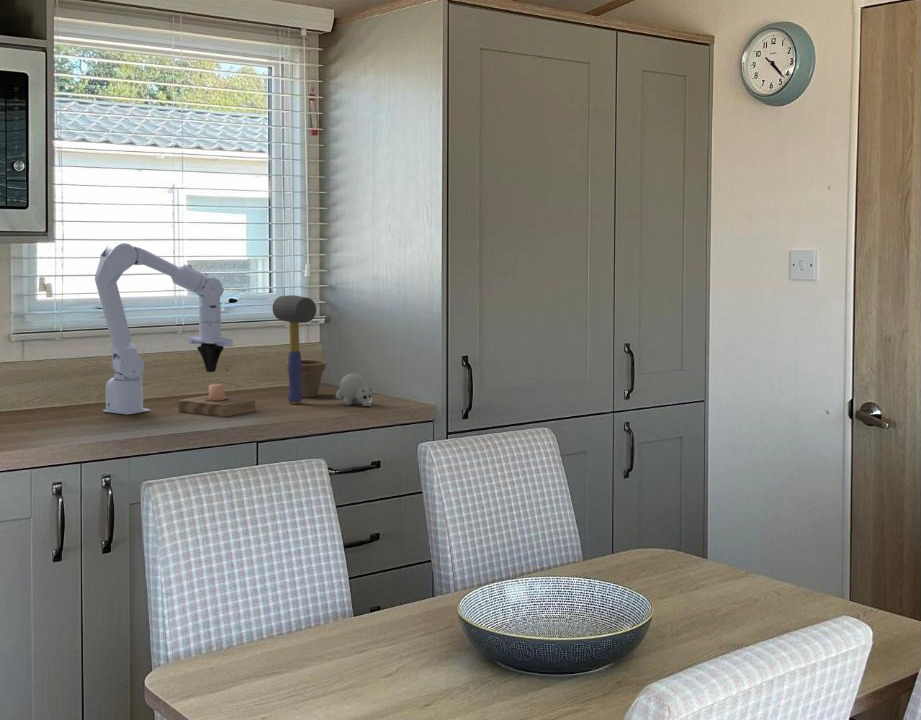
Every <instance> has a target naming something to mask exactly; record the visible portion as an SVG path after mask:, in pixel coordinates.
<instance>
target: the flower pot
mask: <svg viewBox="0 0 921 720" xmlns="http://www.w3.org/2000/svg"><path fill="white" fill-rule="evenodd" d="M301 362H302V372H301V392H302V398H314V397H317V396H318V394H319V390H320V385H321V381H322V377H323V372H324V371H326V366H327V365H326V364H327V362H325V361H323V360H317V359H301ZM285 369H286V372H288V361H286V363H285Z"/></svg>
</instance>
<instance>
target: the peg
mask: <svg viewBox="0 0 921 720" xmlns="http://www.w3.org/2000/svg"><path fill="white" fill-rule="evenodd" d="M225 395H226V394H225V384H221V383H213V384H209V385H208V396H209V401H213V402H220V401H225V397H226V396H225Z"/></svg>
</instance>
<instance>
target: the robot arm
mask: <svg viewBox="0 0 921 720" xmlns="http://www.w3.org/2000/svg"><path fill="white" fill-rule="evenodd" d="M99 255H100V256H99V257H100V258H99V263H98V265H97V268H96V272H95V274H94V275H95V276H94V282H95V285H96V289H97V292H98V297H99V299H100V303H101V308H102V311H103V314H104V318H105V322H106V326H107V330H108V333H109V337H110V341H111V354H112V359H111V368H112V370H113V372H115V373H114V375H113V377H111V378H110V379H109V380H108V381H107V382H106V385H105V409H103V411H102V412H104V413H112V414H121V415H134V414H140V413H145V412H146V413H147V412H150V411H151V409H150V408H144V393H143V392H144V390H143V388H144V387H143V383H144V382H143V375H142V374H143V373H144V371H145V362H144V360H143V358H142V357H141V356H140V355H139V353H138V351H137V347H136V345H135V344H134V342H133V340H132V336H131V333H130V328H129V324H128V321H127V316H126V314H125V309H124V305H123V301H122V298H121V295H120V291H119V288H118V283H117V282H118V281H119V279H120V278H121V276H123V274H124V272H126V271H127V270H128V269H130V268H131V267H133V266H146V267H148V268H150V269H153V270H155V271H158V272H160V273H163V274H164V275H166V276H170V278H171V281H172V283H173V284H174V285H177V286H179V287H181V288H183V289H185V290H188V291H189V292H192V293H193V294H194V293H195V294H196V295H197V296H198V314H199V315H198V320H199V321H198V323H199V325H198V327H199V330H198V331H199V332H198V333H199V334H198V335H199V336H194V335H193V336H188V344H189V345H199V346H197V350H198V352H199V354H200V355H201V358H202V361H203V364H204V367H205V372H206V373H215V372H216V370H217V366H218V363H219V362H218V361H219V358H220V356H221V353H222V351H224V347H227V348H228V347H233V344H234V343H233V338H228V337H223V336H222V317H221V316H222V312H221V311H222V310H221V309H222V308H221V297H222V296H223V293H224V290H225V289H224V287H223V284H222V283H221V281H220V280H219V278H218V279H217V278H215V277H209V276H208V275H209V274H208V273H207V272H205V271H203V272H201V271H200V270H197V269H195V268H193V265H192V264H190V263H186V264H184V263H181V264H179V265H176V264H173V263H172V262H169V261H168V260H165V259H164V258H162V257H160V256H158V255H156V254H155V253H153V252H150V251H148V250H146V249H143V248H141V247H137V246H133V245H131V244H129V243H126V242H123V243H122V242H121V243H119V242H112V243H110V244H108V245H107V246H106V247H105V248H104V250H103V251H102V252H101V253H100V254H99Z"/></svg>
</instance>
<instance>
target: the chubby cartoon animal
mask: <svg viewBox="0 0 921 720" xmlns="http://www.w3.org/2000/svg"><path fill="white" fill-rule="evenodd" d="M372 390H373V387H372V386H371V387H368V388H367V384H366V381H365V379H364V378H363V377H362V376H361V375H359V374H358V373H348V374H346V375H344V376H343V377H342V379H341V380H340V382H339V389H337V391H336V394H335V398H336V399H337V400H341V401H342V404H343V405H344V406H348V405H350V406H352V404H353V405H356V404H358V405H360V404H362V406H363V407H364V406H370V407H371V406H372V405H373V398H372Z"/></svg>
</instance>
